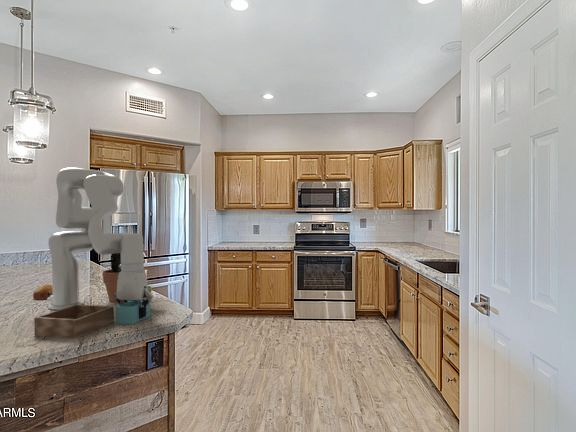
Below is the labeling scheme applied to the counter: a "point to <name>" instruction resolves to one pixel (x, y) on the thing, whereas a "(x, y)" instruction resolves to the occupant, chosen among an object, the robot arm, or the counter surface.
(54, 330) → the crate large
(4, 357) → the counter surface
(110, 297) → the potted plant
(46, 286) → the bread roll
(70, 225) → the robot arm
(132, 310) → the box
